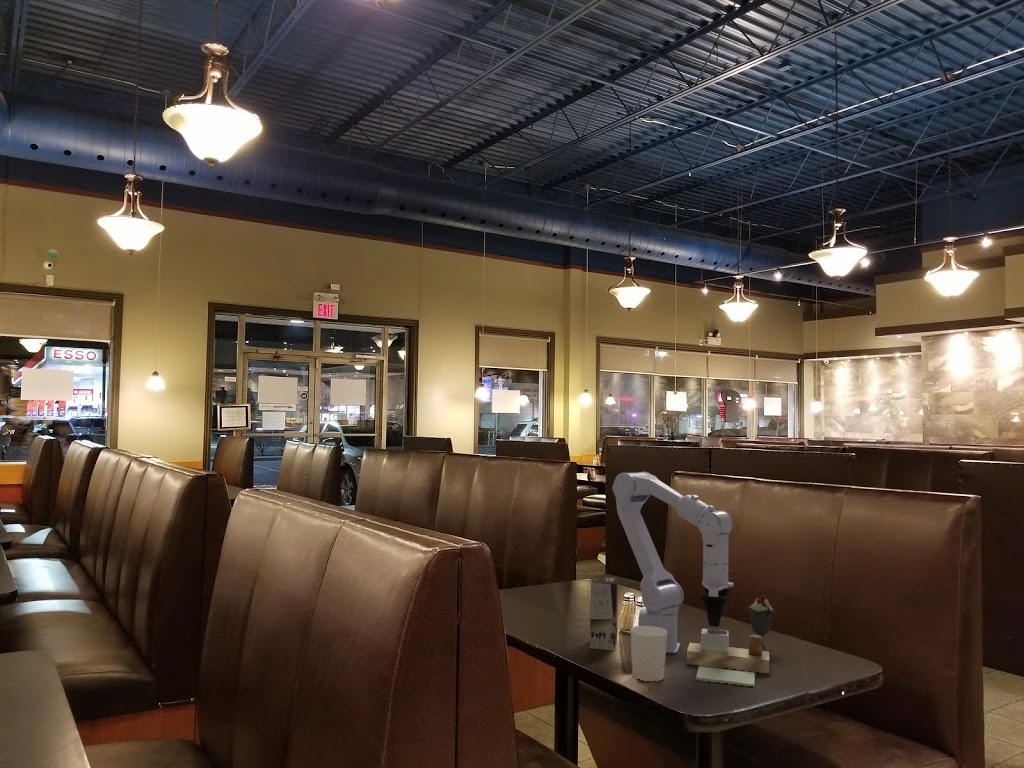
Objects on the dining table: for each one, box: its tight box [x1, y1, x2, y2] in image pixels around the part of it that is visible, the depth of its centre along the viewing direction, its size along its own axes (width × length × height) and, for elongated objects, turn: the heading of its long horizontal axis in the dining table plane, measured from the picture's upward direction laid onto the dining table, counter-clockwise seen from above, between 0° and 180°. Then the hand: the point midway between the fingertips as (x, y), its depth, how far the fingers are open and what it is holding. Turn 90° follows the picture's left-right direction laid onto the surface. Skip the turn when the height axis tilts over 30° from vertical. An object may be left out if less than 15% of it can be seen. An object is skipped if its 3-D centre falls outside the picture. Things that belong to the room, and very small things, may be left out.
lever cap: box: [700, 627, 730, 654], centre depth 177 cm, size 6×4×5 cm
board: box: [695, 665, 756, 688], centre depth 166 cm, size 12×8×1 cm, turn 71°
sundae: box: [746, 589, 776, 653], centre depth 188 cm, size 7×7×15 cm
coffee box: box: [589, 575, 619, 651], centre depth 189 cm, size 9×6×16 cm
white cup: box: [630, 625, 667, 683], centre depth 166 cm, size 8×8×10 cm
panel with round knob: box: [686, 634, 770, 674], centre depth 176 cm, size 18×7×7 cm, turn 71°
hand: (715, 621), depth 177 cm, fingers open, 7 cm apart
